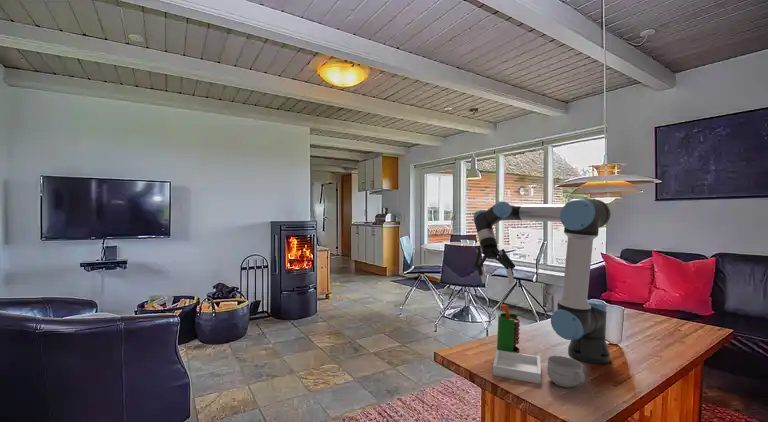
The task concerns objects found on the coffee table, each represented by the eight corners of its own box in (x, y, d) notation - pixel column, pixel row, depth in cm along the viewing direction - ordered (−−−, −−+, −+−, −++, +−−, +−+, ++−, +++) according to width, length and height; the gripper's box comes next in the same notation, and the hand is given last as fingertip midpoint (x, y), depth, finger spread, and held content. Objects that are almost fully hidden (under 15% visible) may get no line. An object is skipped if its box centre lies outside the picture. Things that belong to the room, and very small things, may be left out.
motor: (521, 359, 150) (522, 309, 149) (498, 357, 152) (499, 308, 151) (517, 349, 160) (518, 303, 159) (495, 347, 162) (496, 301, 161)
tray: (539, 365, 144) (539, 356, 144) (540, 383, 130) (540, 373, 129) (496, 358, 150) (496, 349, 150) (492, 375, 135) (493, 365, 135)
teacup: (541, 376, 135) (541, 354, 135) (569, 375, 136) (570, 354, 136) (562, 396, 121) (563, 372, 121) (594, 395, 122) (595, 371, 122)
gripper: (506, 245, 182) (518, 286, 170) (459, 242, 176) (469, 285, 164) (514, 237, 176) (527, 279, 164) (466, 234, 170) (476, 278, 158)
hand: (498, 282), depth 164 cm, fingers open, 13 cm apart
